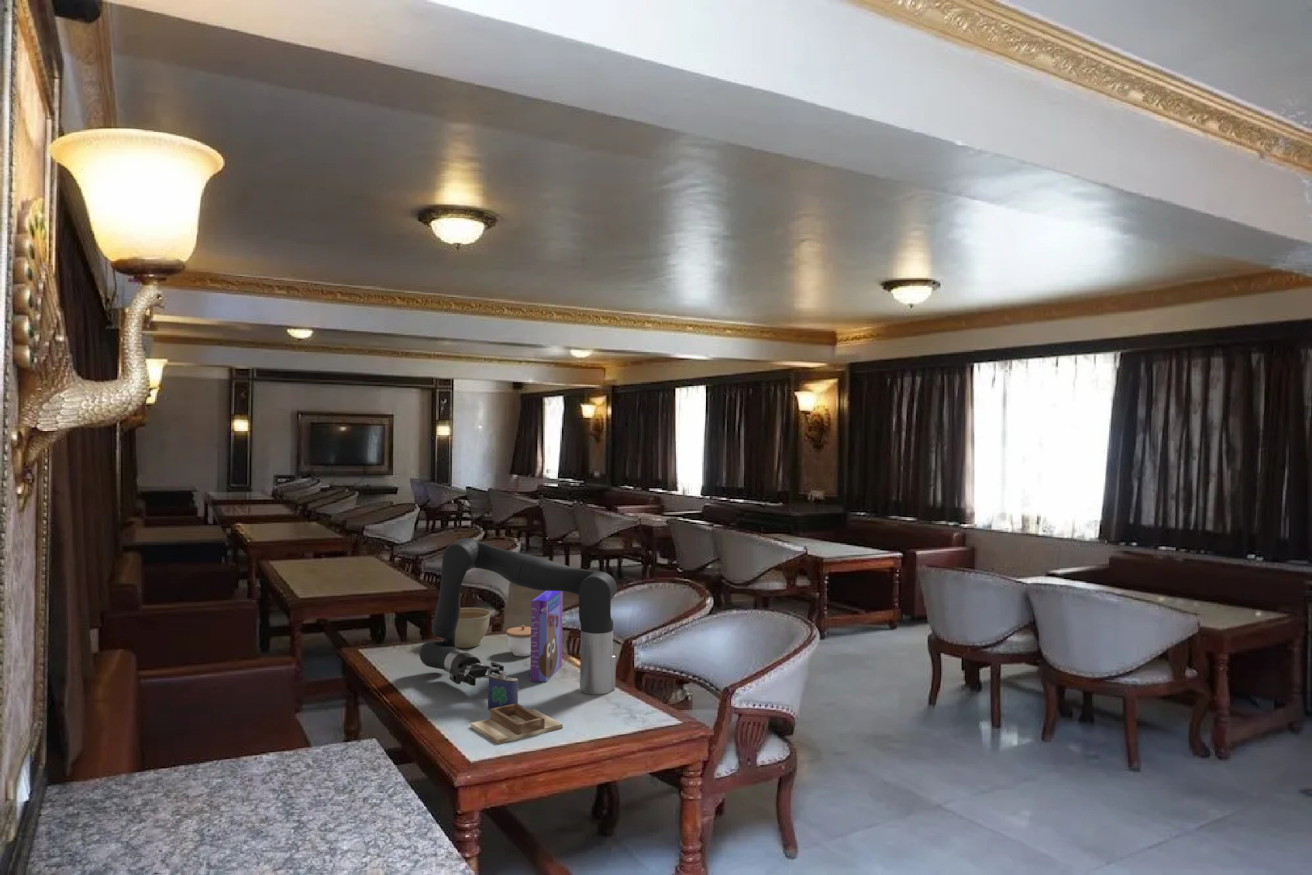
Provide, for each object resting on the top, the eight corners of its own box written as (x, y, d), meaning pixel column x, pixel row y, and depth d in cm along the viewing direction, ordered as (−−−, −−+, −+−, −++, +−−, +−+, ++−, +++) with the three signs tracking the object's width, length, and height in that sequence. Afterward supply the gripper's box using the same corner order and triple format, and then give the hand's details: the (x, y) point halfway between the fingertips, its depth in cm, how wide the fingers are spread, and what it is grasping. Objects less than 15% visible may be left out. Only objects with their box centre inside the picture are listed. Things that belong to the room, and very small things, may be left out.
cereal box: (545, 682, 251) (547, 600, 250) (530, 681, 251) (531, 600, 251) (561, 665, 268) (562, 589, 267) (547, 664, 269) (548, 588, 268)
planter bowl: (439, 640, 296) (440, 608, 296) (487, 637, 301) (487, 606, 301) (442, 652, 281) (443, 619, 280) (492, 649, 286) (493, 617, 285)
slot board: (533, 712, 225) (533, 699, 225) (562, 727, 214) (562, 714, 214) (470, 726, 213) (471, 713, 213) (498, 744, 202) (498, 729, 202)
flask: (519, 712, 225) (520, 671, 224) (512, 715, 222) (513, 674, 222) (491, 706, 229) (491, 666, 229) (484, 709, 226) (484, 669, 226)
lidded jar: (542, 656, 278) (543, 627, 277) (509, 659, 274) (510, 630, 274) (534, 648, 288) (535, 620, 287) (503, 651, 284) (503, 622, 283)
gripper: (438, 656, 240) (464, 669, 227) (485, 648, 248) (512, 661, 236) (438, 682, 240) (464, 698, 227) (484, 674, 249) (512, 688, 236)
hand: (489, 679), depth 231 cm, fingers open, 8 cm apart
